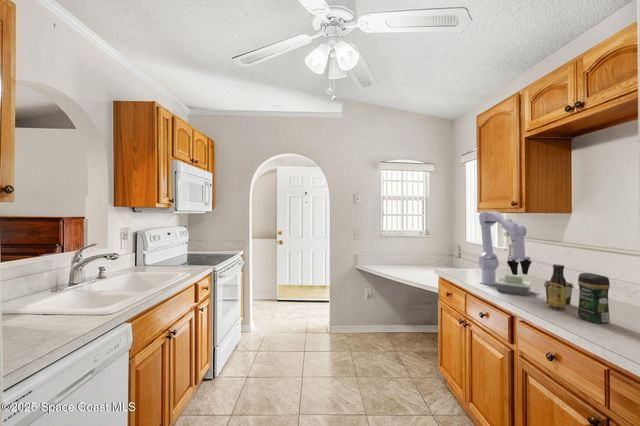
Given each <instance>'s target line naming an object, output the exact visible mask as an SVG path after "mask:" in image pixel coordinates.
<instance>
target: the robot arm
mask: <svg viewBox="0 0 640 426" xmlns="http://www.w3.org/2000/svg"><path fill="white" fill-rule="evenodd" d="M478 218H479V219H478V220H479V226H480V230H481V240H482V242H481V243H482V253H481V254H480V255H479V256H478V257H479V258H478V265H479V267H480V269H481V282H479V284H480V285H481V284H482V285H490V286H496V285H497V284H496V282H497V281H496V280H497V279H496V278H497V277H496V270H497V269H498V268H499V265H500V263H499V260H498V256H497V254H496V253H494V252H493V248H494V247H493V240H492V239H493V238H492V230H491V229H492V228H491V227H492V226H494V225H495V224H496V223H498V224H500V225H501V227H502V228H503V229H504V230H505V231H506V232H508V236H509V238H510V240H511V250H512V251H511V252H512V256H509V257H507V260H506V263H507V265H508V267H509V268H510V270H511V274H512V275H514V276H518V273H519V271H518V267H519V264H520V267H521V272H522V275H526V276H527V275H528V272H529V269H530V267H531V264H532V260H531V257H530V256H526V249H525V248H526V247H525V236H526V234H527V228H526V227H525V226H524V225H518V223H515V222H514V221H513V219H506V218H505V217H503V216H502V215H501V213H500V212H499V211H498V210H495V211H494V210H491V211H489V210H488V211H487V210H485V211H484V210H482V211H480V213H479V215H478Z"/></svg>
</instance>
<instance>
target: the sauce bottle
mask: <svg viewBox="0 0 640 426" xmlns="http://www.w3.org/2000/svg"><path fill="white" fill-rule="evenodd" d="M552 268H553V269H552V270H553V271H552V275H551V277H550V280H549V281H550V282H549V297H548V303H547V304H548V308H549V309H552V310H555V311H565V308H566V305H565V304H566V282H567V279H566V278H565V277H564V270H565V265H564V264H559V263H553V265H552Z"/></svg>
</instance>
